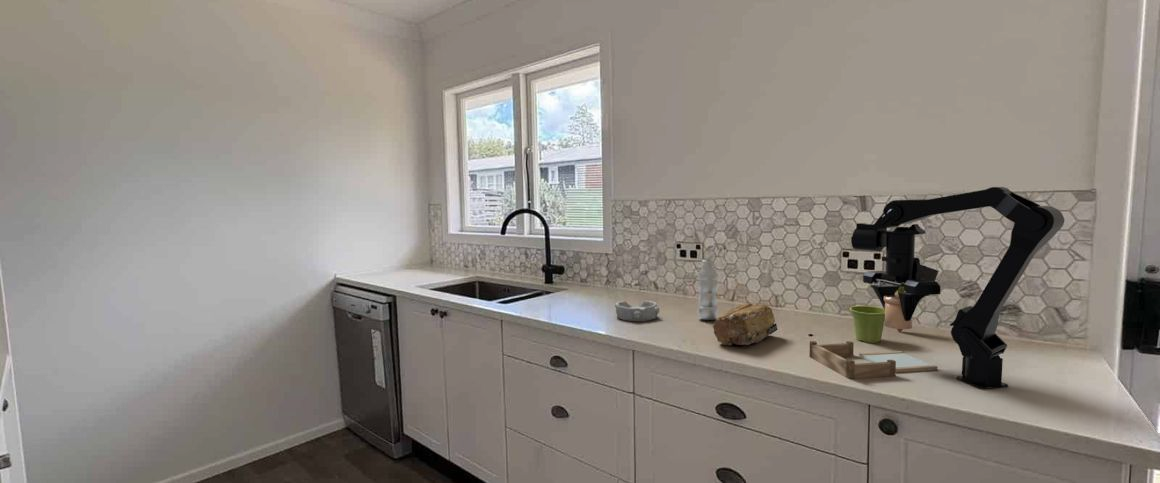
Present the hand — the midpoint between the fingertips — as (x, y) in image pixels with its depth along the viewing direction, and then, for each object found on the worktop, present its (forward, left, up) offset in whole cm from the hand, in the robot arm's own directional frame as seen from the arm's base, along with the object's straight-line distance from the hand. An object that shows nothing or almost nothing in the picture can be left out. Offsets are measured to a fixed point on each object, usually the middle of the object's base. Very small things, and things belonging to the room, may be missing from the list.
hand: (898, 317), depth 123 cm
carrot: (+25, -20, -11) cm, 34 cm away
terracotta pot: (0, 0, -2) cm, 2 cm away
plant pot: (+19, -6, -11) cm, 23 cm away
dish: (+58, +51, -12) cm, 78 cm away
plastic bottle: (+50, +29, -11) cm, 59 cm away
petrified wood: (+26, +28, -11) cm, 39 cm away
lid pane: (0, 0, -11) cm, 11 cm away
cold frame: (0, +12, -11) cm, 16 cm away
